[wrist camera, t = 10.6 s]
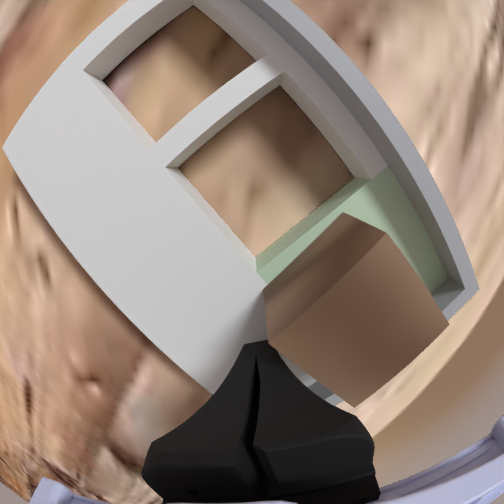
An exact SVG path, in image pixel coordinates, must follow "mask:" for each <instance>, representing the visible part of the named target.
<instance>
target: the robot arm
mask: <svg viewBox="0 0 504 504" xmlns="http://www.w3.org/2000/svg"><path fill="white" fill-rule="evenodd" d="M374 448H375V447H374V442H373V439H372V437H371V436H370V434H369V432H368V431H367V429H366V428H365V426H364V425H363V424H362V423H361V421H360V420H359V419H358V418H357V417H356V416H355V415H353V414H350V413H348V412H346V411H344V410H341V409H339V408H337V407H336V406H334V405H332V404H330V403H328V402H327V401H325V400H324V399H322V398H321V397H320V396H318V395H317V394H315V393H314V392H313V391H311V390H310V389H309V388H308V387H307V386H305V385H304V384H303V383H302V382H301V381H300V380H299V379H298V378H297V377H296V376H295V375H294V374H293V372H292V371H291V370H290V369H289V368H288V366H287V365H286V364H285V362H284V361H283V359H282V358H281V356H280V355H279V353H278V351H277V350H276V349H275V348H274V347H272V346H271V345H270V344H269V343H268V339H267V340H262V341H257V342H252V343H247V344H244V345H243V347H242V349H241V351H240V353H239V355H238V357H237V359H236V361H235V363H234V365H233V366H232V368H231V370H230V371H229V373H228V375H227V376H226V378H225V379H224V381H223V382H222V384H221V385H220V387H219V388H218V389H217V391H216V392H215V393H214V394H213V396H212V397H211V398H210V399H209V400H208V401H207V402H206V403H205V404H204V405H203V406H202V407H201V408H200V409H199V410H198V411H197V412H196V413H195V414H194V415H193V416H191V417H190V418H189V419H188V420H186V421H185V422H184V423H182V424H181V425H180V426H178V427H177V428H175V429H174V430H172V431H171V432H169V433H167V434H166V435H164V436H162V437H160V438H159V439H157V440H155V441H153V442H152V443H151V445H150V448H149V450H148V453H147V456H146V459H145V462H144V466H143V469H142V472H141V474H142V478H143V479H144V480H145V482H146V483H147V484H148V485H149V486H150V487H151V488H152V489H153V490H154V491H155V492H156V493H157V494H158V495H159V496H161V497H162V498H163V504H489V503H490V502H492V501H493V500H494V499H496V498H497V497H498V496H500V495H501V494H502V493H503V492H504V415H503V416H502V417H501V418H499V420H498V421H497V422H496V423H495V425H494V426H493V429H492V431H491V433H490V434H488V435H487V436H485V437H484V438H482V439H481V440H479V441H478V442H476V443H474V444H473V445H471V446H469V447H468V448H466V449H464V450H463V451H461V452H459V453H457V454H456V455H454V456H452V457H450V458H448V459H446V460H444V461H442V462H440V463H438V464H436V465H434V466H432V467H430V468H428V469H426V470H424V471H421V472H419V473H417V474H415V475H412V476H410V477H408V478H405V479H403V480H400V481H398V482H395V483H392V484H390V485H387V486H384V487H381V488H379V486H378V483H377V480H376V477H375V469H374V466H373V463H372V462H373V456H374ZM29 504H111V503H106V502H102V501H98V500H94V499H91V498H87V497H84V496H80V495H77V494H74V493H73V492H72V491H71V490H70V489H69V488H67V487H66V486H65V485H63V484H62V483H60V482H57V481H54V480H52V479H49V478H46V477H42V479H41V481H40V483H39V485H38V487H37V488H36V490H35V492H34V494H33V496H32V498H31V500H30V502H29Z"/></svg>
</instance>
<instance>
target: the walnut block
mask: <svg viewBox="0 0 504 504" xmlns="http://www.w3.org/2000/svg"><path fill="white" fill-rule="evenodd" d="M263 296H264V306H265V316H266V325H267V335H268V343H269V344H270V345H271V346H272V347H274V348H275V349H276V350H277V351H279V352H280V353H281V354H283V355H284V356H285V357H286V358H288V359H289V360H290V361H292V362H293V363H294V364H295V365H297V366H298V367H299V368H301V369H302V370H303V371H305V372H306V373H307V374H309V375H310V376H311V377H313V378H314V379H315V380H317V381H318V382H319V383H321V384H322V385H323V386H325V387H326V388H327V389H329V390H330V391H332V392H333V393H334V394H336V395H337V396H339V397H340V398H341V399H343V400H344V401H346V402H347V403H348V404H350V405H351V406H353V407H356V406H357V405H359V404H360V403H361V402H363V401H364V400H365V399H367V398H368V397H369V396H371V395H372V394H373V393H375V392H376V391H377V390H378V389H380V388H381V387H382V386H383V385H385V384H386V383H387V382H388V381H390V380H391V379H392V378H393V377H394V376H396V375H397V374H398V373H399V372H400V371H401V370H403V369H404V368H405V367H406V366H407V365H408V364H409V363H411V362H412V361H413V360H414V359H415V358H416V357H417V356H418V355H419V354H420V353H421V352H422V351H424V350H425V349H426V348H427V347H428V346H429V345H430V344H431V343H432V342H433V341H434V340H435V339H436V338H437V337H438V336H439V335H440V334H441V333H442V332H443V331H444V330H445V329H446V328H447V327H448V325H449V323H448V321H447V319H446V318H445V316H444V315H443V313H442V311H441V310H440V308H439V306H438V305H437V303H436V302H435V300H434V299H433V297H432V295H431V294H430V292H429V291H428V289H427V288H426V286H425V285H424V283H423V282H422V280H421V279H420V277H419V276H418V275H417V273H416V272H415V270H414V269H413V267H412V266H411V265H410V263H409V262H408V260H407V259H406V258H405V256H404V255H403V253H402V252H401V251H400V249H399V248H398V247H397V245H396V244H395V243H394V241H393V240H392V239H391V237H390V236H389V235H388V233H386V232H384V231H382V230H380V229H378V228H376V227H374V226H372V225H370V224H368V223H366V222H364V221H362V220H359V219H357V218H355V217H353V216H351V215H349V214H346V213H344V212H342V213H341V214H340V215H339V216H338V217H337V218H336V219H335V220H334V221H333V222H332V223H331V224H330V225H329V226H328V227H327V228H326V229H325V230H324V231H323V232H322V233H321V234H320V235H319V236H318V237H317V238H316V239H315V240H314V241H313V242H312V243H311V244H310V245H309V246H308V247H307V248H306V249H305V250H304V251H303V252H301V253H300V254H299V255H298V256H297V257H296V258H295V259H294V260H293V261H292V262H291V263H290V264H289V265H288V266H287V267H286V268H285V269H284V270H283V271H282V272H281V273H280V274H279V275H277V276H276V277H275V278H274V279H273V280H272V281H271V282H270V283H269V284H268V285H267V286H266V287H265V288H264V289H263Z"/></svg>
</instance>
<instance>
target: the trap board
mask: <svg viewBox="0 0 504 504" xmlns="http://www.w3.org/2000/svg"><path fill="white" fill-rule="evenodd" d="M193 5H194V6H195V7H197V8H198V9H199V10H200V11H202V12H203V13H204V14H205V15H207V16H208V17H209V18H210V19H211V20H213V21H214V22H215V23H216V24H217V25H218V26H220V27H221V28H222V29H223V30H224V31H225V32H226V33H227V34H229V35H230V36H231V37H232V38H233V39H234V40H235V41H236V42H237V43H238V44H239V45H241V46H242V47H243V48H244V49H245V50H246V51H247V52H248V53H249V54H250V55H251V56H252V57H253V58H254V59H255V60H256V62H255V63H253V64H252V65H251V66H249V67H248V68H246V69H245V70H243V71H242V72H241V73H239V74H238V75H237V76H235V77H234V78H232V79H231V80H230V81H228V82H227V83H226V84H224V85H223V86H222V87H221V88H219V89H218V90H217V91H215V92H214V93H213V94H212V95H210V96H209V97H208V98H207V99H205V100H204V101H203V102H202V103H200V104H199V105H198V106H197V107H196V108H194V109H193V110H192V111H191V112H190V113H189V114H187V115H186V116H185V117H184V118H183V119H182V120H180V121H179V122H178V123H177V124H176V125H175V126H174V127H173V128H172V129H170V130H169V131H168V132H167V133H166V134H165V135H164V136H163V137H162V138H161V139H160V140H159V141H158V142H155V141H154V140H153V139H152V138H151V136H150V135H149V134H148V133H147V132H146V131H145V129H144V128H143V127H142V126H141V125H140V124H139V123H138V121H137V120H136V119H135V118H134V117H133V116H132V114H131V113H130V112H129V111H128V110H127V109H126V107H125V106H124V105H123V104H122V103H121V102H120V101H119V99H118V98H117V97H116V96H115V95H114V94H113V92H112V91H111V90H110V89H109V88H108V87H107V86H106V84H105V83H104V82H103V81H102V80H103V79H104V78H105V77H106V76H107V75H108V74H109V73H110V72H111V71H112V70H113V69H114V68H115V67H116V66H117V65H118V64H119V63H120V62H122V61H123V60H124V59H125V58H126V57H127V56H128V55H129V54H130V53H131V52H133V51H134V50H135V49H136V48H137V47H138V46H140V45H141V44H142V43H143V42H144V41H146V40H147V39H148V38H149V37H150V36H152V35H153V34H154V33H155V32H157V31H158V30H159V29H161V28H162V27H163V26H165V25H166V24H167V23H169V22H170V21H171V20H173V19H174V18H175V17H177V16H178V15H180V14H181V13H183V12H184V11H185V10H187V9H188V8H190V7H191V6H193ZM279 85H280V86H281V87H282V88H283V89H284V90H285V91H286V92H287V93H288V95H289V96H290V97H291V98H292V99H293V100H294V101H295V102H296V104H297V105H298V106H299V107H300V108H301V109H302V111H303V112H304V113H305V114H306V115H307V116H308V118H309V119H310V120H311V121H312V122H313V124H314V125H315V126H316V127H317V129H318V130H319V131H320V132H321V133H322V135H323V136H324V137H325V138H326V140H327V141H328V142H329V144H330V145H331V146H332V147H333V149H334V150H335V151H336V153H337V154H338V155H339V157H340V158H341V159H342V161H343V162H344V163H345V165H346V166H347V168H348V169H349V170H350V172H351V173H352V174H353V176H354V177H355V178H354V179H353V180H351V181H350V182H349V183H348V184H346V185H345V186H344V187H343V188H342V189H340V190H339V191H338V192H337V193H335V194H334V195H333V196H332V197H330V198H329V199H328V200H327V201H325V202H324V203H323V204H322V205H320V206H319V207H318V208H317V209H315V210H314V211H313V212H312V213H311V214H309V215H308V216H307V217H306V218H304V219H303V220H302V221H301V222H299V223H298V224H297V225H296V226H294V227H293V228H292V229H291V230H289V231H288V232H287V233H286V234H284V235H283V236H282V237H281V238H279V239H278V240H277V241H276V242H274V243H273V244H272V245H271V246H269V247H268V248H267V249H266V250H264V251H263V252H262V253H261V254H259V255H258V256H257V257H256V258H255V256H254V255H253V254H252V253H251V252H250V251H249V250H248V248H247V247H246V246H245V245H244V244H243V243H242V241H241V240H240V239H239V238H238V237H237V236H236V235H235V233H234V232H233V231H232V230H231V229H230V228H229V226H228V225H227V224H226V223H225V222H224V221H223V220H222V218H221V217H220V216H219V215H218V214H217V213H216V211H215V210H214V209H213V208H212V207H211V206H210V205H209V203H208V202H207V201H206V200H205V199H204V198H203V196H202V195H201V194H200V193H199V192H198V191H197V190H196V188H195V187H194V186H193V185H192V184H191V183H190V181H189V180H188V179H187V178H186V177H185V176H184V175H183V173H182V172H181V171H180V170H179V169H178V167H179V166H180V165H181V164H182V163H183V162H184V161H185V160H187V159H188V158H189V157H190V156H191V155H192V154H193V153H194V152H196V151H197V150H198V149H199V148H200V147H201V146H202V145H204V144H205V143H206V142H207V141H208V140H209V139H211V138H212V137H213V136H214V135H215V134H217V133H218V132H219V131H220V130H221V129H223V128H224V127H225V126H226V125H228V124H229V123H230V122H231V121H233V120H234V119H235V118H236V117H238V116H239V115H240V114H241V113H243V112H244V111H245V110H247V109H248V108H249V107H250V106H252V105H253V104H254V103H256V102H257V101H258V100H260V99H261V98H262V97H264V96H265V95H267V94H268V93H269V92H271V91H272V90H274V89H275V88H276V87H278V86H279ZM2 148H3V150H4V152H5V153H6V155H7V157H8V159H9V161H10V163H11V164H12V166H13V168H14V170H15V171H16V173H17V175H18V176H19V178H20V180H21V181H22V183H23V185H24V186H25V188H26V189H27V191H28V193H29V194H30V196H31V197H32V199H33V200H34V202H35V203H36V205H37V206H38V208H39V209H40V211H41V212H42V214H43V215H44V217H45V218H46V220H47V221H48V222H49V224H50V225H51V227H52V228H53V229H54V231H55V232H56V233H57V235H58V236H59V238H60V239H61V240H62V242H63V243H64V244H65V245H66V247H67V248H68V249H69V251H70V252H71V253H72V254H73V256H74V257H75V258H76V260H77V261H78V262H79V263H80V264H81V266H82V267H83V268H84V269H85V271H86V272H87V273H88V274H89V275H90V276H91V278H92V279H93V280H94V281H95V282H96V283H97V285H98V286H99V287H100V288H101V289H102V290H103V291H104V293H105V294H106V295H107V296H108V297H109V298H110V299H111V300H112V301H113V303H114V304H115V305H116V306H117V307H118V308H119V309H120V310H121V311H122V312H123V313H124V314H125V315H126V316H127V317H128V318H129V319H130V320H131V321H132V323H133V324H134V325H135V326H136V327H137V328H138V329H139V330H140V331H141V332H142V333H143V334H145V335H146V336H147V337H148V338H149V339H150V340H151V341H152V342H153V343H154V344H155V345H156V346H157V347H158V348H159V349H160V350H161V351H162V352H163V353H165V354H166V355H167V356H168V357H169V358H170V359H171V360H172V361H173V362H174V363H176V364H177V365H178V366H179V367H180V368H181V369H182V370H184V371H185V372H186V373H187V374H188V375H189V376H191V377H192V378H193V379H194V380H195V381H196V382H198V383H199V384H200V385H201V386H203V387H204V388H205V389H206V390H207V391H209V392H210V393H211V394H212V395H213V394H214V393H215V392H216V391H217V389H218V388H219V387H220V385H221V384H222V382H223V381H224V379H225V378H226V376H227V375H228V373H229V371H230V370H231V368H232V366H233V365H234V363H235V361H236V359H237V357H238V355H239V353H240V351H241V349H242V347H243V345H244V344H247V343H252V342H257V341H262V340H267V339H268V335H267V325H266V316H265V306H264V296H263V289H264V288H265V287H266V286H267V285H268V284H269V283H270V282H271V281H272V280H273V279H274V278H275V277H276V276H277V275H279V274H280V273H281V272H282V271H283V270H284V269H285V268H286V267H287V266H288V265H289V264H290V263H291V262H292V261H293V260H294V259H295V258H296V257H297V256H298V255H299V254H300V253H301V252H303V251H304V250H305V249H306V248H307V247H308V246H309V245H310V244H311V243H312V242H313V241H314V240H315V239H316V238H317V237H318V236H319V235H320V234H321V233H322V232H323V231H324V230H325V229H326V228H327V227H328V226H329V225H330V224H331V223H332V222H333V221H334V220H335V219H336V218H337V217H338V216H339V215H340V214H341V213H342V212H344V213H346V214H349V215H351V216H353V217H355V218H357V219H359V220H362V221H364V222H366V223H368V224H370V225H372V226H374V227H376V228H378V229H380V230H382V231H384V232H386V233H388V235H389V236H390V237H391V239H392V240H393V241H394V243H395V244H396V245H397V247H398V248H399V249H400V251H401V252H402V253H403V255H404V256H405V258H406V259H407V260H408V262H409V263H410V265H411V266H412V267H413V269H414V270H415V272H416V273H417V275H418V276H419V277H420V279H421V280H422V282H423V283H424V285H425V286H426V288H427V289H428V291H429V292H430V294H431V295H432V297H433V299H434V300H435V302H436V303H437V305H438V306H439V308H440V310H441V311H442V313H443V315H444V316H445V318H446V319H447V321H448V320H449V319H450V318H452V317H453V316H454V315H455V314H456V313H457V312H458V311H459V310H460V309H461V308H462V307H463V306H464V305H465V304H466V303H467V302H468V301H469V300H470V299H471V298H472V297H473V296H474V295H475V293H476V292H477V291H478V290H479V286H478V283H477V280H476V277H475V274H474V271H473V268H472V265H471V262H470V260H469V257H468V254H467V251H466V249H465V246H464V244H463V241H462V239H461V236H460V234H459V231H458V229H457V227H456V224H455V222H454V220H453V218H452V215H451V213H450V211H449V209H448V207H447V205H446V203H445V200H444V198H443V196H442V194H441V192H440V190H439V188H438V187H437V185H436V183H435V181H434V179H433V177H432V175H431V173H430V172H429V170H428V168H427V166H426V164H425V163H424V161H423V159H422V158H421V156H420V154H419V152H418V151H417V149H416V148H415V146H414V144H413V143H412V141H411V139H410V138H409V136H408V135H407V133H406V132H405V130H404V129H403V127H402V126H401V124H400V123H399V121H398V120H397V118H396V117H395V115H394V114H393V113H392V111H391V110H390V108H389V107H388V106H387V104H386V103H385V102H384V100H383V99H382V97H381V96H380V95H379V94H378V92H377V91H376V90H375V88H374V87H373V86H372V85H371V83H370V82H369V81H368V80H367V78H366V77H365V76H364V75H363V74H362V72H361V71H360V70H359V69H358V68H357V66H356V65H355V64H354V63H353V62H352V61H351V60H350V58H349V57H348V56H347V55H346V54H345V53H344V52H343V51H342V50H341V49H340V48H339V46H338V45H337V44H336V43H335V42H334V41H333V40H332V39H331V38H330V37H329V36H328V35H327V34H326V33H325V32H324V31H323V30H322V29H321V28H320V27H319V26H318V25H317V24H316V23H315V22H314V21H312V20H311V19H310V18H309V17H308V16H307V15H306V14H305V13H304V12H303V11H301V10H300V9H299V8H298V7H297V6H296V5H295V4H293V3H292V2H291V1H290V0H129V1H128V2H126V3H125V4H124V5H123V6H121V7H120V8H119V9H118V10H117V11H115V12H114V13H113V14H112V15H111V16H109V17H108V18H107V19H106V20H105V21H104V22H103V23H102V24H100V25H99V26H98V27H97V28H96V29H95V30H94V31H93V32H92V33H91V34H90V35H89V36H88V37H87V38H86V39H85V40H84V41H83V42H82V43H81V44H80V45H79V46H78V47H77V48H76V49H75V50H74V51H73V52H72V53H71V54H70V55H69V56H68V57H67V58H66V60H65V61H64V62H63V63H62V64H61V65H60V66H59V68H58V69H57V70H56V71H55V72H54V73H53V75H52V76H51V77H50V78H49V79H48V81H47V82H46V83H45V85H44V86H43V87H42V88H41V90H40V91H39V92H38V94H37V95H36V96H35V98H34V99H33V100H32V102H31V103H30V105H29V106H28V107H27V109H26V110H25V112H24V113H23V115H22V116H21V118H20V119H19V121H18V122H17V124H16V125H15V127H14V129H13V130H12V132H11V134H10V135H9V137H8V139H7V140H6V142H5V144H4V145H3V147H2ZM278 353H279V355H280V356H281V358H282V359H283V361H284V362H285V364H286V365H287V366H288V368H289V369H290V370H291V371H292V372H293V374H294V375H295V376H296V377H297V378H298V379H299V380H300V381H301V382H302V383H303V384H304V385H305V386H307V387H308V388H309V389H310V390H311V391H313V392H314V393H315V394H317V395H318V396H320V397H321V398H322V399H324V400H325V401H327V402H328V403H330V404H332V405H334V406H336V405H337V404H339V403H341V402H342V401H344V400H343V399H341V398H340V397H339V396H337V395H336V394H334V393H333V392H332V391H330V390H329V389H327V388H326V387H325V386H323V385H322V384H321V383H319V382H318V381H317V380H315V379H314V378H313V377H311V376H310V375H309V374H307V373H306V372H305V371H303V370H302V369H301V368H299V367H298V366H297V365H295V364H294V363H293V362H292V361H290V360H289V359H288V358H286V357H285V356H284V355H283V354H281V353H280V352H279V351H278Z"/></svg>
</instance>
